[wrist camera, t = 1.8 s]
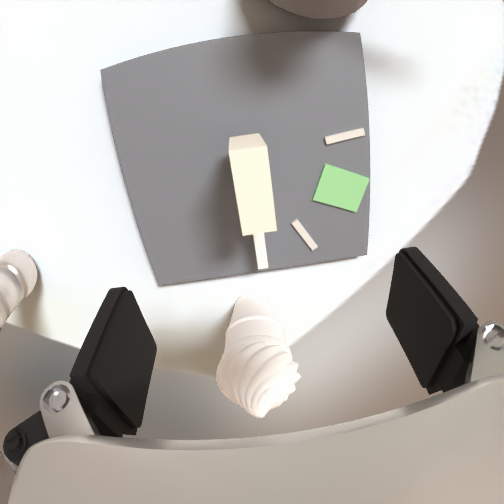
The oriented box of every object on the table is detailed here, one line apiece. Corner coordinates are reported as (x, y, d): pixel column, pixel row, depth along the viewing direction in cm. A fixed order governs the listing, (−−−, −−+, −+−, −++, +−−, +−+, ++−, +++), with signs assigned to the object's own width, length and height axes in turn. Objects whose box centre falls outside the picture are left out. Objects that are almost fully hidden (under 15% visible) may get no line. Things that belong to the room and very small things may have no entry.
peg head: (229, 133, 25) (228, 151, 18) (256, 129, 25) (267, 145, 18) (250, 258, 31) (255, 310, 24) (272, 255, 31) (284, 306, 24)
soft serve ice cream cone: (292, 318, 39) (316, 425, 25) (233, 336, 40) (237, 442, 26) (273, 269, 34) (296, 386, 21) (206, 291, 36) (197, 408, 22)
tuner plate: (106, 70, 22) (99, 70, 20) (353, 35, 22) (361, 32, 20) (160, 277, 34) (158, 287, 33) (362, 248, 34) (367, 256, 32)
